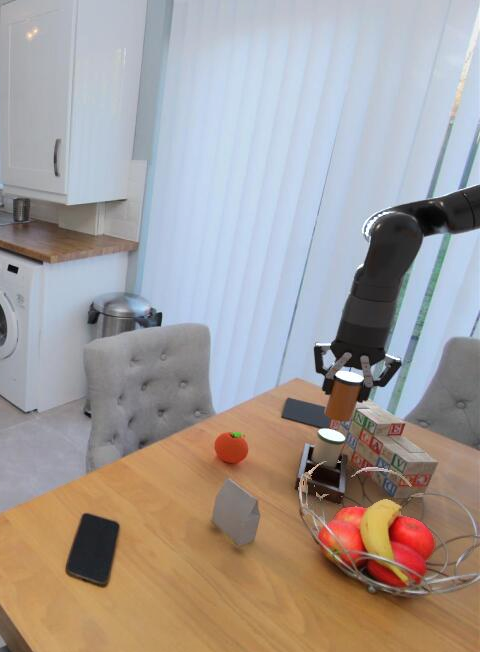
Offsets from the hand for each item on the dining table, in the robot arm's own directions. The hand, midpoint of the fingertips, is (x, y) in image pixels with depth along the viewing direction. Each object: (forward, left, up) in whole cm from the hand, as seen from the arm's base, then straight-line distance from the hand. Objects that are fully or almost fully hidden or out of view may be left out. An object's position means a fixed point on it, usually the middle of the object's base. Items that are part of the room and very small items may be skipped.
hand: (343, 396), depth 97 cm
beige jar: (0, -4, -21) cm, 21 cm away
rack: (0, -1, -21) cm, 21 cm away
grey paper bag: (+12, +26, -21) cm, 36 cm away
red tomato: (+17, +3, -21) cm, 27 cm away
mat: (+3, -29, -21) cm, 36 cm away
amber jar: (0, 0, -4) cm, 4 cm away
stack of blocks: (-9, -12, -21) cm, 26 cm away
